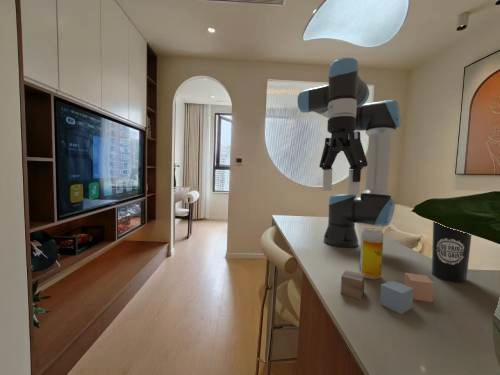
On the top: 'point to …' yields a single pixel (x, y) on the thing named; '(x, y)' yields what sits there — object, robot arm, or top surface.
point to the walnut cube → (352, 284)
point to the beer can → (371, 253)
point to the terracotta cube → (420, 286)
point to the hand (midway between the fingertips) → (339, 192)
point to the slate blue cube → (396, 296)
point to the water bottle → (450, 254)
